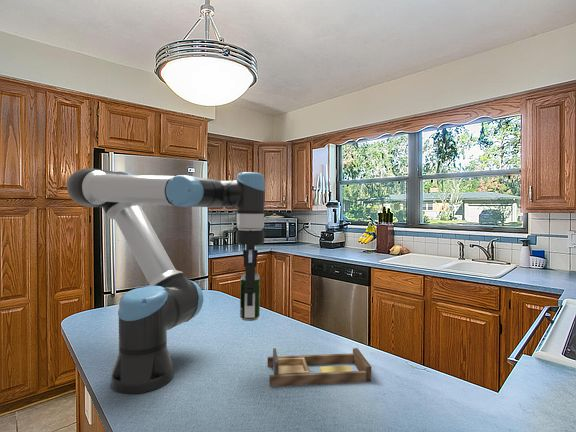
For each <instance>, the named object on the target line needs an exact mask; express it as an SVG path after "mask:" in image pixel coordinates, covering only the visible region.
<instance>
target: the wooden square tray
mask: <svg viewBox="0 0 576 432" xmlns="http://www.w3.org/2000/svg"><path fill="white" fill-rule="evenodd" d="M277 353H278V351H277V348H276V347H273V349H272V356H273V367H272V369H273V375H279V374H302V373H310V369H309V367H308V365H307V364H306V361H305V358H279V359H278V357H277V356H278V354H277Z"/></svg>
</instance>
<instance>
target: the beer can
mask: <svg viewBox="0 0 576 432" xmlns="http://www.w3.org/2000/svg"><path fill="white" fill-rule="evenodd" d="M239 281H240V283H239V284H240V285H239V286H240V288H239V290H240V291H239V292H240V294H239V296H240V297H239V317H240V319H241V320H242V321H243V322H253V321H257V320H259V318H260V313H261V312H260V307H261V306H260V304H261V302H260V301H261V295H260V294H261V277H260V274H259V273H256V272H255V317H250V318H245V294H242V291H245V273H242V274H241V277H240V280H239Z"/></svg>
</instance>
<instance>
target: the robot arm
mask: <svg viewBox="0 0 576 432" xmlns="http://www.w3.org/2000/svg"><path fill="white" fill-rule="evenodd" d="M236 176H237V177H236V180H234V179H233V180H219V179H218V180H217V179H210V178H202V177H197V176H193V175H187V174H181V175H180V174H179V175H178V174H177V175H176V176H175V175H148V174H147V175H146V174H145V175H144V174H143V175H141V174H132V173H128V172H124V171H114V170H113V171H112V170H105V169H99V168H93V167H92V168H91V167H89V168H88V167H87V168H82V169H77V170H76V171H74V172H73V173H72V174H71V175H70V176H69V178H68V180H67V181H66V182H67V183H66V191H67V194H68V196H69V197H70V199H71V200H72V201H73V202H75V203H77V204H78V205H80V206H83V207H88V208H101V209H103V211H104V213H105V215H106V217H107V218H108V219H110V220H114V221H115V222H116V224H117V226H118V228H119V230H120V231H121V234H122V235H123V237H124V239H125V240H126V241H125V242H126V243H127V245H128V246H129V249H130V250H131V253H132V254H133V257H134V258H135V260H136V262H137V264H138V265H139V268H140V269H141V271H142V273H143V275H144V277H145V278H146V281H147V283H148V284H149V285H146V286H144V287H137V288H134V289H131V290H129V291H126V292H125V293H124V294H123V295H122V296H121V297H120V298H119V305H118V306H119V307H118V311H117V316H118V355H117V359H116V361H115V365H114V367H113V371H112V373H111V377H110V378H111V380H110V381H111V388H112V389H113V390H114V391H116V392H118V393H122V394H142V393H147V392H151V391H154V390H157V389H158V388H161V387H163V386H165V385H167V384H168V383H169V382H170V381H171V380H172V379H173V377H174V375H175V374H174V362H173V359H172V358H171V355H170V352H169V349H168V347H167V345H168V339H167V338H168V337H167V336H168V333H167V332H168V331H169V330H171V329H173V328H175V327H177V326H179V325H181V324H183V323H186V322H187V323H188V322H189V321H190V320H192V319H193V318H195V317H196V316H198V314H199V313H200V312H201V310H202V308H203V303H204V293H203V290H202V288H201V286H200V285H199V284H198V283H197V282H195V281H193V280H190V279H188V278H187V276H186V275H185V273H184V272H183V271H182V270H181V271H180V270H177V269H176V268H175V266H174V264H173V263H172V260H171V259H170V257H169V255H168V253H167V252H166V249H165V248H164V246H163V244H162V242H161V240H160V238H159V237H158V235H157V233H156V231H155V230H154V228H153V226H152V224H151V222H150V221H149V218H148V216H147V214H146V213H145V211H144V210H143V207H144V205H159V206H160V205H161V206H172V207H174V206H176V207H181V208H195V207H196V208H198V207H199V208H204V207H205V208H213V209H214V208H236V228H237V231H236V243H237V245H246V248H245V249H243V250H242V257H243V267H244V268H245V273H244V274H245V291H242V294H245V318H250V317H255V273H256V268H257V264H258V263H257V261H258V259H257V258H258V257H259V254H258V253H259V252H258V249H255V247H256V246H255V245H263V244H264V243H265V231H264V230H263V229H264V228H265V221H267V217H266V216H265V202H266V201H265V199H266V198H265V197H266V196H265V195H266V184H265V182H266V181H265V176H264V174H262V172H261V173H260V172H252V171H245V172H238V174H236ZM264 216H265V217H264Z"/></svg>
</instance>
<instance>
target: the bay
mask: <svg viewBox="0 0 576 432" xmlns="http://www.w3.org/2000/svg"><path fill="white" fill-rule="evenodd" d="M277 357H278V359H279V358H305V361H306V364H307V366H319V370H320V372H309V373H302V374H279V375H274V374H269V379H268V380H269V381H268V382H269V387H271V388H272V387H287V386H308V385H309V386H310V385H313V386H314V385H326V384H327V385H328V384H329V385H332V384H353V383H372V365H371V364H370V363H369V361H368V360H367V359H366V358H365V357H366V356H364V354H363V353H362V352H361V351H360V350H359V348H358V347H356V348H355V347H353V348H352V353H330V354H307V355H302V354H301V355H300V354H299V355H277ZM266 362H267V367H268V368H273V355H272V356H267V361H266ZM344 364H354V366H355V367H356V369H357V370H352V368H351V366H350V365H344ZM321 365H324V366H321ZM326 365H329V366H326Z"/></svg>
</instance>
